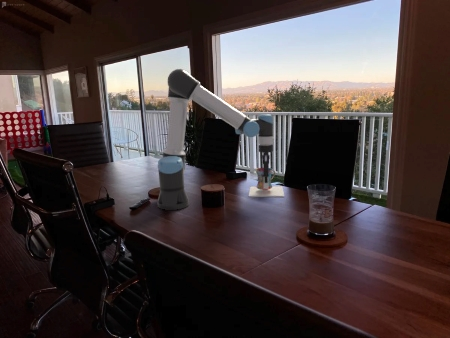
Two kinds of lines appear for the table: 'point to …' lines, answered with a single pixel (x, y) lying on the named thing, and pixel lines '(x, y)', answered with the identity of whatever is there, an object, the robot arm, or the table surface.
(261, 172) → the mug
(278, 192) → the placemat
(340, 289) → the table surface
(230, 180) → the table surface
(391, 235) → the table surface
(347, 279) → the table surface
